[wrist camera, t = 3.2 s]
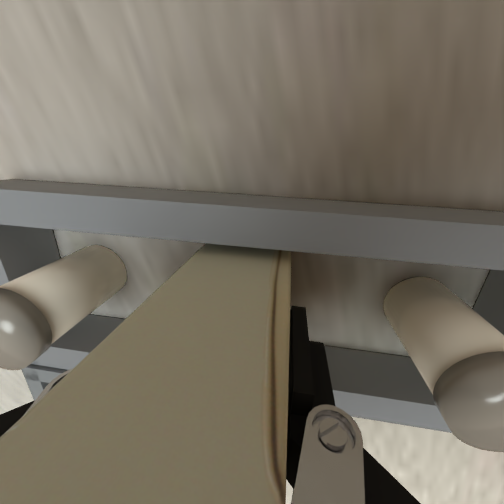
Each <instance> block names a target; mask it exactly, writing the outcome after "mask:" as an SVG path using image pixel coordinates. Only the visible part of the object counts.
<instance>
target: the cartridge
mask: <svg viewBox="0 0 504 504" xmlns="http://www.w3.org/2000/svg"><path fill="white" fill-rule="evenodd" d="M383 310H384V314H385V316H386V317H387V319H388V321H389V322H390V324H391V326H392V327H393V329H394V331H395V332H396V334H397V336H398V337H399V339H400V341H401V342H402V344H403V346H404V347H405V349H406V351H407V352H408V354H409V356H410V357H411V359H412V361H413V362H414V364H415V366H416V367H417V369H418V371H419V372H420V374H421V376H422V377H423V379H424V381H425V382H426V384H427V386H428V387H429V389H430V391H431V392H432V394H433V399H434V403H435V405H436V407H437V408H438V410H439V412H440V413H441V415H442V417H443V419H444V420H445V422H446V424H447V425H448V427H449V429H450V430H451V432H452V433H453V434H454V435H455V436H456V437H457V438H458V439H459V440H461V441H462V442H464V443H466V444H468V445H470V446H472V447H475V448H479V449H482V450H487V451H494V452H504V335H503V334H502V333H500V332H499V331H498V330H497V329H496V328H495V327H493V326H492V325H491V324H490V323H489V322H487V321H486V320H485V319H484V318H483V317H481V316H480V315H479V314H478V313H477V312H475V311H474V310H473V309H472V308H471V307H469V306H468V305H467V304H466V303H465V302H463V301H462V300H461V299H460V298H459V297H458V296H456V295H455V294H454V293H453V292H452V291H450V290H449V289H448V288H447V287H446V286H444V285H443V284H442V283H441V282H439V281H437V280H435V279H432V278H427V277H415V278H410V279H406V280H404V281H402V282H400V283H398V284H397V285H395V286H394V287H393V288H392V289H391V290H390V291H389V292H388V293H387V295H386V297H385V299H384V303H383Z"/></svg>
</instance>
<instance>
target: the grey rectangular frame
mask: <svg viewBox="0 0 504 504" xmlns="http://www.w3.org/2000/svg"><path fill="white" fill-rule="evenodd" d="M52 229H55V230H66V231H77V232H88V233H99V234H110V235H121V236H132V237H143V238H154V239H165V240H175V241H186V242H197V243H208V244H219V245H230V246H241V247H252V248H263V249H274V250H285V251H296V252H306V253H317V254H328V255H339V256H350V257H361V258H372V259H383V260H394V261H405V262H416V263H427V264H438V265H448V266H459V267H470V268H481V269H491V270H490V272H489V274H488V277H487V279H486V281H485V283H484V285H483V288H482V290H481V292H480V294H479V297H478V299H477V301H476V303H475V305H474V308H473V310H474V311H475V312H477V313H478V314H479V315H480V316H481V317H483V318H484V319H485V320H486V321H487V322H489V323H490V324H491V325H492V326H493V327H495V328H496V329H497V330H498V331H499V332H500V333H502V334H503V335H504V212H500V211H485V210H470V209H455V208H440V207H425V206H410V205H395V204H380V203H365V202H350V201H335V200H320V199H305V198H290V197H275V196H260V195H245V194H230V193H215V192H200V191H185V190H170V189H155V188H140V187H125V186H110V185H95V184H80V183H65V182H50V181H35V180H20V179H9V180H0V286H1V285H3V284H5V283H8V282H10V281H12V280H14V279H17V278H19V277H21V276H23V275H25V274H28V273H30V272H32V271H34V270H36V269H39V268H41V267H43V266H45V265H48V264H50V263H52V262H54V261H56V260H59V259H60V256H59V252H58V248H57V245H56V241H55V237H54V234H53V230H52ZM124 320H125V319H120V318H113V317H105V316H98V315H90V314H89V315H87V316H86V317H85V318H84V319H82V320H81V321H80V322H79V323H77V324H76V325H75V326H74V327H72V328H71V329H70V330H69V331H67V332H66V333H65V334H64V335H62V336H61V337H60V338H59V339H57V340H56V341H55V342H53V343H52V344H51V346H50V348H49V349H48V350H47V351H46V352H45V353H43V354H42V355H41V356H40V357H38V358H37V359H36V360H35V361H34V362H32V363H31V364H35V365H41V366H47V367H53V368H60V369H66V370H70V369H73V368H74V367H75V366H77V365H78V364H79V363H80V362H81V361H82V360H83V359H84V358H85V357H86V356H87V355H88V354H89V353H90V352H91V351H92V350H93V349H95V348H96V347H97V346H98V345H99V344H100V343H101V342H102V341H103V340H104V339H105V338H106V337H107V336H108V335H109V334H111V333H112V332H113V331H114V330H115V329H116V328H117V327H118V326H119V325H120V324H121V323H122V322H123V321H124ZM325 351H326V357H327V362H328V368H329V373H330V379H331V384H332V389H333V395H334V400H335V406H336V407H338V408H340V409H342V410H344V411H345V412H346V413H347V414H349V415H350V416H352V417H358V418H364V419H371V420H377V421H383V422H389V423H395V424H401V425H407V426H413V427H419V428H425V429H432V430H438V431H444V432H450V433H452V432H451V430H450V429H449V427H448V425H447V424H446V422H445V420H444V419H443V417H442V415H441V413H440V412H439V410H438V408H437V407H436V405H435V403H434V399H433V394H432V392H431V391H430V389H429V387H428V386H427V384H426V382H425V381H424V379H423V377H422V376H421V374H420V372H419V371H418V369H417V367H416V366H415V364H414V362H413V361H412V359H411V357H405V356H397V355H390V354H382V353H375V352H367V351H360V350H352V349H345V348H338V347H330V346H325Z"/></svg>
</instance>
